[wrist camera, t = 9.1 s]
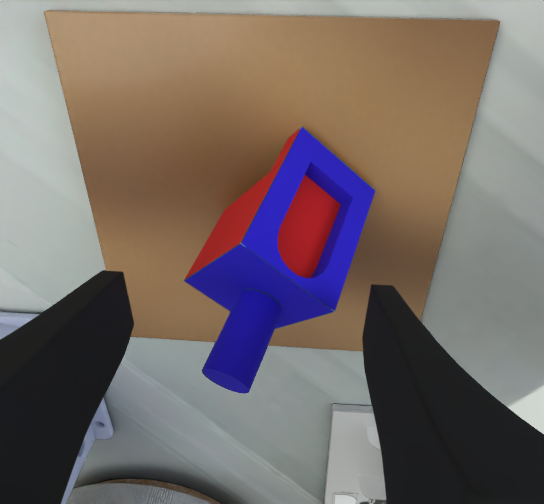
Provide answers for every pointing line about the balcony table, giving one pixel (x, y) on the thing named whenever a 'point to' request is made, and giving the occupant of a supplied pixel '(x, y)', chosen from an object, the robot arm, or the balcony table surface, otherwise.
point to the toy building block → (280, 254)
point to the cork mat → (265, 142)
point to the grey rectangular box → (354, 458)
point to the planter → (136, 493)
